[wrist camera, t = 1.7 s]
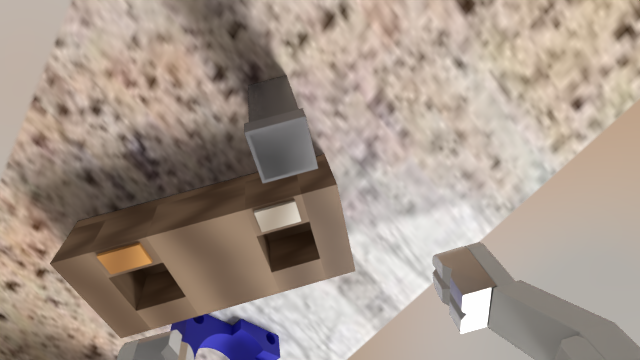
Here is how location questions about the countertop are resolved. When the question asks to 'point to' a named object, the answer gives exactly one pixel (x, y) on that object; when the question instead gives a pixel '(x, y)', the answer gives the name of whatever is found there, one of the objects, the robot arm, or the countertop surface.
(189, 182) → the countertop surface
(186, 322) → the cable clip
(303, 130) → the plug
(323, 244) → the socket block
